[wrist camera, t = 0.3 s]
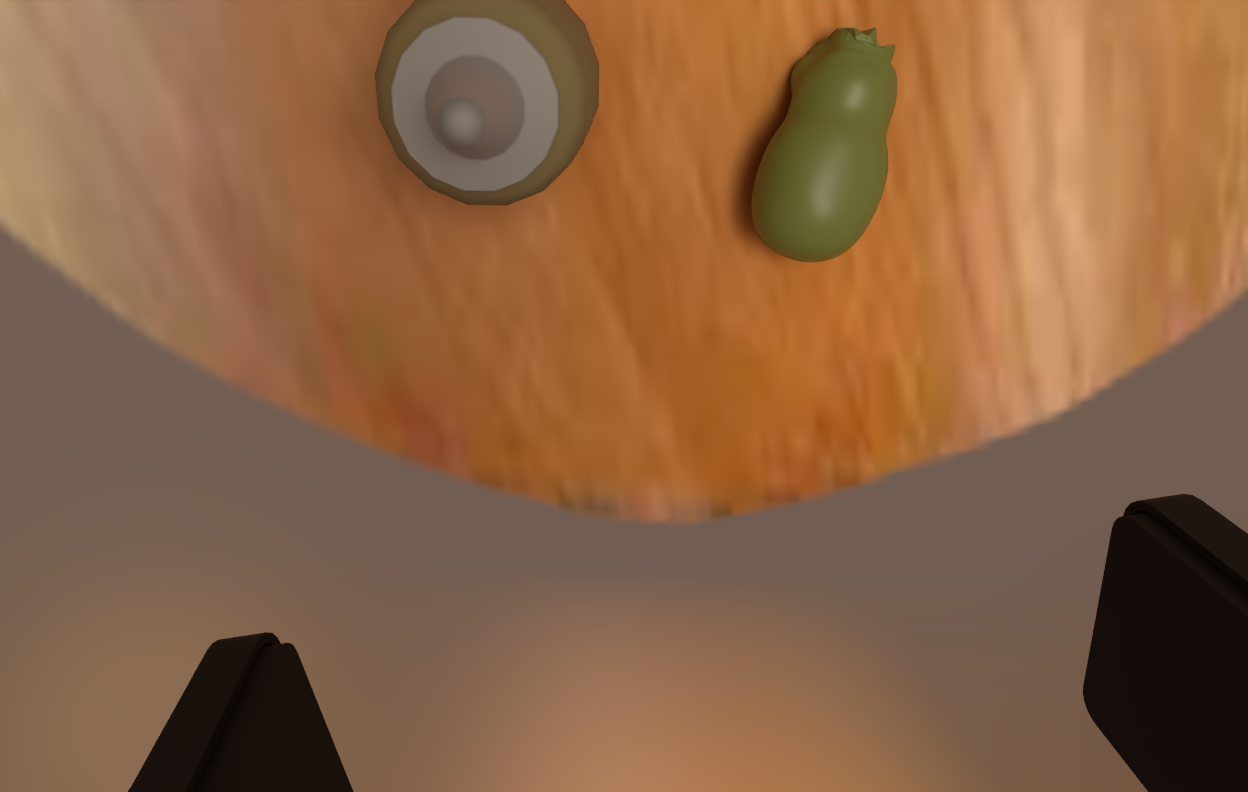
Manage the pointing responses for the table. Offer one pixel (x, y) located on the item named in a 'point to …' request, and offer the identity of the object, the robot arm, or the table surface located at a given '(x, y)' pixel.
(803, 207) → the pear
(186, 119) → the table surface
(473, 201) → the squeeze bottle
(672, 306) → the table surface
